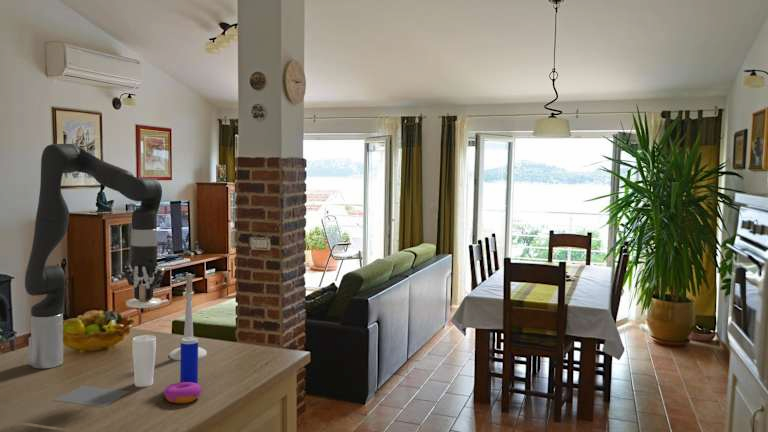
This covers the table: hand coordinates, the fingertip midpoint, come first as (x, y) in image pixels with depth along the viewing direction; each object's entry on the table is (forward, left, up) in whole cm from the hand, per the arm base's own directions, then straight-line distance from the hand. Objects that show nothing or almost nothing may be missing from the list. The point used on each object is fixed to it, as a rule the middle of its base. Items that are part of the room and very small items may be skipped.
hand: (144, 299), depth 183 cm
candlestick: (-3, +31, -27) cm, 42 cm away
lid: (0, 0, -2) cm, 2 cm away
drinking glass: (0, 0, -27) cm, 27 cm away
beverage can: (+13, +4, -27) cm, 31 cm away
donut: (+17, -6, -28) cm, 33 cm away
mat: (-8, -13, -27) cm, 31 cm away
